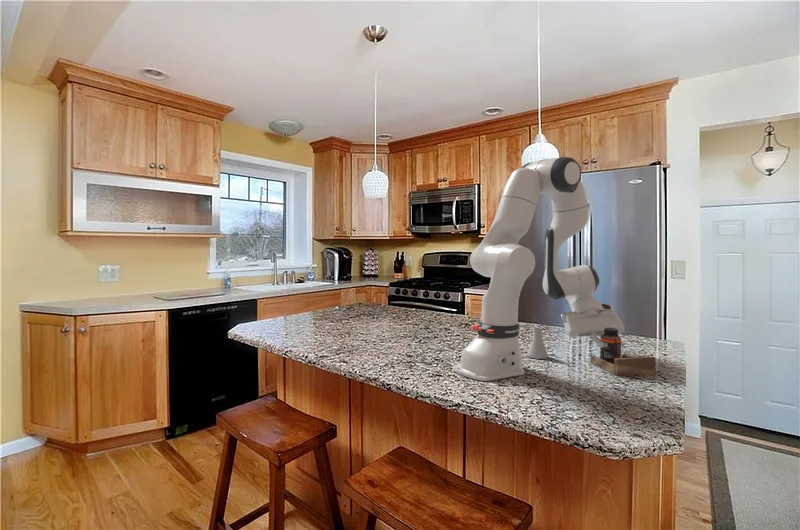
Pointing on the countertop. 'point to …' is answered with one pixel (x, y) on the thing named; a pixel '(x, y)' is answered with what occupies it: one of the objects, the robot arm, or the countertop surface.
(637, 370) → the walnut bay
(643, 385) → the countertop surface
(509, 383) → the countertop surface
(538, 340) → the flask
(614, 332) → the supplement bottle
